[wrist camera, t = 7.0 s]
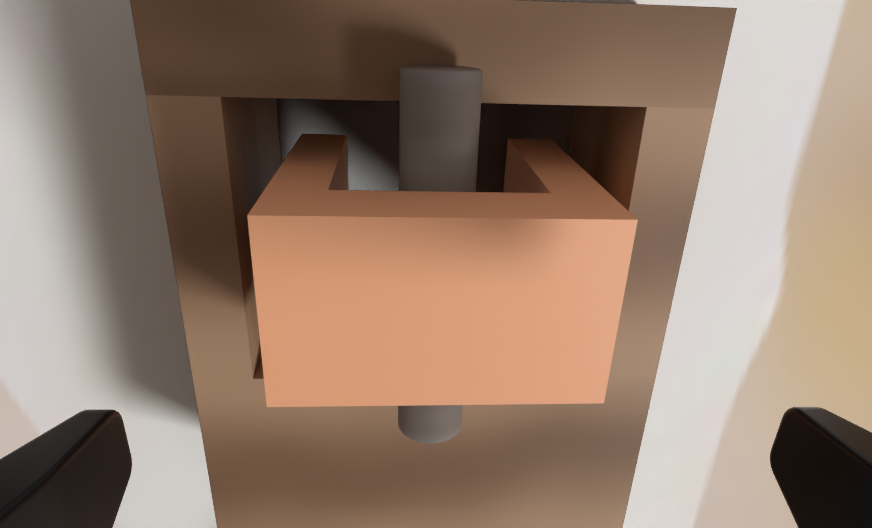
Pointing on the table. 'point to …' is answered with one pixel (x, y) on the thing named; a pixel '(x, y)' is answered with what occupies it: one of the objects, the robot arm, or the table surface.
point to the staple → (437, 284)
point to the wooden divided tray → (437, 172)
